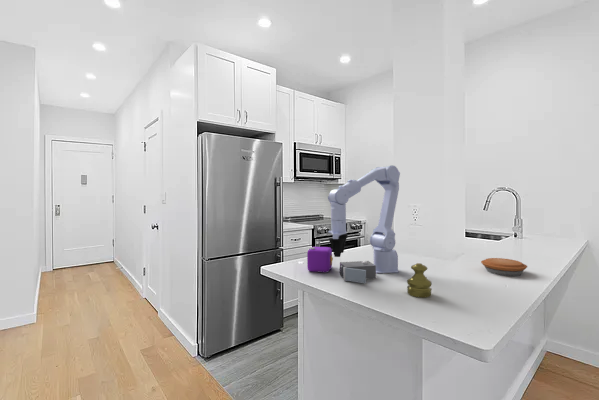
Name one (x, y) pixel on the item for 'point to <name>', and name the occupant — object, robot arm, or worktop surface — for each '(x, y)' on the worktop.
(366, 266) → the block
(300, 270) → the worktop surface
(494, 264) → the pie
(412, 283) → the olive chess piece
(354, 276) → the door
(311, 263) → the toy camera
